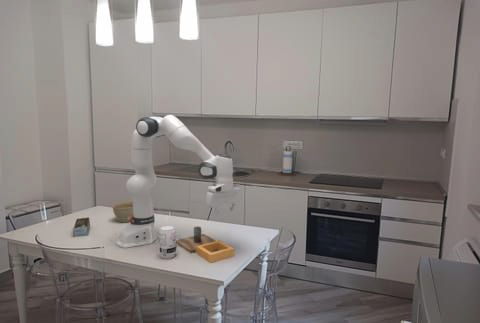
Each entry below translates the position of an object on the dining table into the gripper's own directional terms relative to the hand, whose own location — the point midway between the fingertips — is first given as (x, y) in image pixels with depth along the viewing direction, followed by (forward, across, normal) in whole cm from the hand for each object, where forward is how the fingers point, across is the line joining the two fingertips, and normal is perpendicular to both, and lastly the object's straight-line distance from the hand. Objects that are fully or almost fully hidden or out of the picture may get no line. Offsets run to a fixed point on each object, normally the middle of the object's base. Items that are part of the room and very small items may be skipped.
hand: (224, 212), depth 177 cm
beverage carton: (+22, +52, -80) cm, 98 cm away
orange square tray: (+21, +6, 0) cm, 22 cm away
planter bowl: (+21, +24, -85) cm, 91 cm away
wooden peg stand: (+21, +6, -18) cm, 29 cm away
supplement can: (+22, +26, -13) cm, 36 cm away
